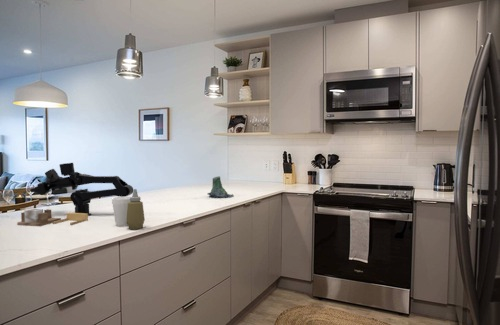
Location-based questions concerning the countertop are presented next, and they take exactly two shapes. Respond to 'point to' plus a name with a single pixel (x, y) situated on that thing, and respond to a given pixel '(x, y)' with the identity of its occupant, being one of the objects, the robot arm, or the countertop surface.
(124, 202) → the foam cup
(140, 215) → the squeeze bottle
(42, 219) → the display stand
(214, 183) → the tree stump
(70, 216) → the wooden c-shaped bracket
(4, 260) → the countertop surface
